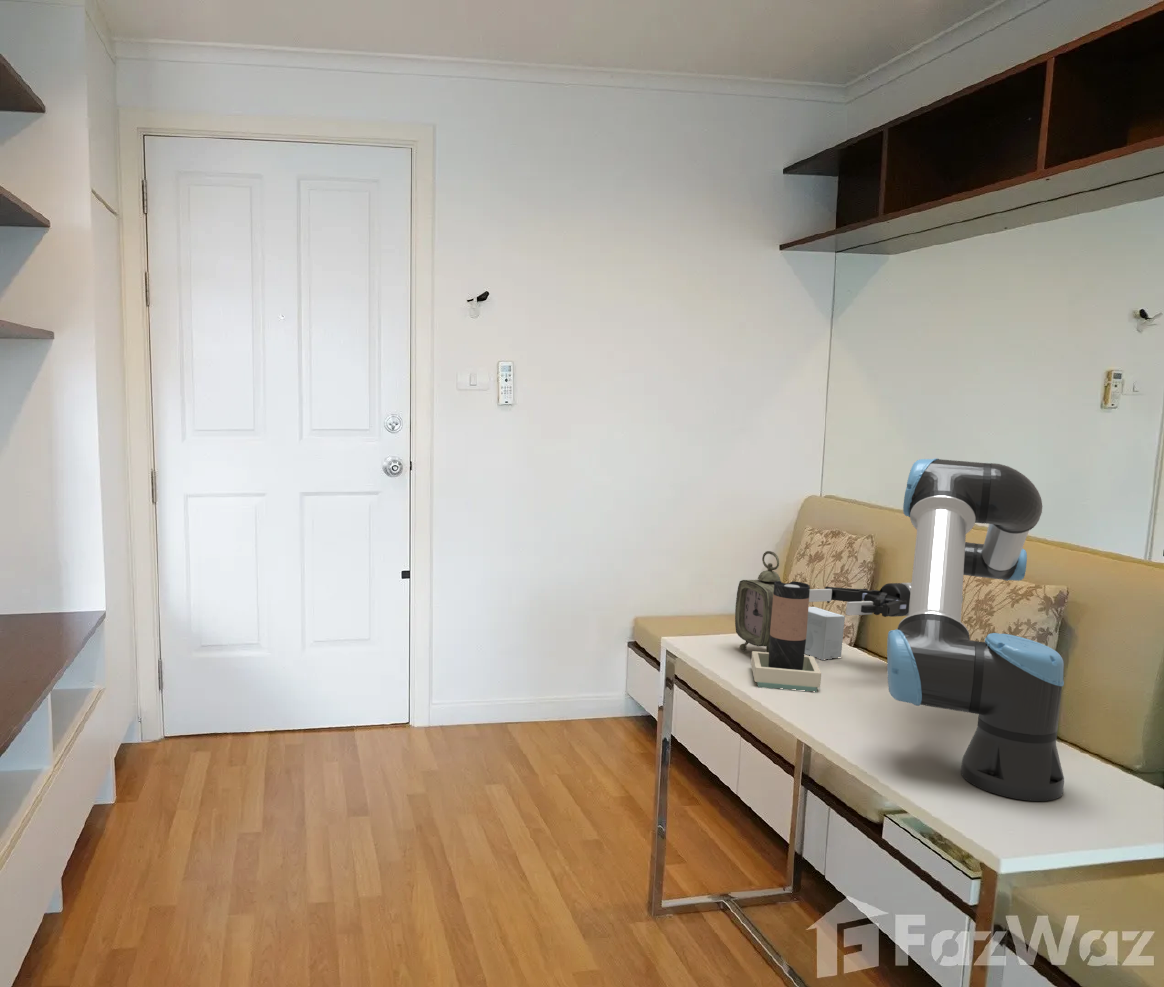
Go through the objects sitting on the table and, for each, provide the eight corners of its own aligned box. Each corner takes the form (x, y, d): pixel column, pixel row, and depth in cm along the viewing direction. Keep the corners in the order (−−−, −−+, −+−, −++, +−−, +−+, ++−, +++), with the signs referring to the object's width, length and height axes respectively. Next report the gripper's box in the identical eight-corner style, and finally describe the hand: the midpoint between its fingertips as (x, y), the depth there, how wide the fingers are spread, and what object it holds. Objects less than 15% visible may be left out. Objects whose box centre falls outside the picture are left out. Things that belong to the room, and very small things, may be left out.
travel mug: (793, 683, 197) (801, 589, 195) (760, 675, 202) (767, 583, 200) (808, 675, 203) (816, 584, 201) (776, 668, 208) (783, 579, 206)
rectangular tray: (819, 692, 195) (821, 674, 195) (754, 686, 197) (755, 668, 196) (809, 668, 213) (811, 651, 212) (749, 663, 214) (751, 646, 214)
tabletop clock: (732, 649, 226) (740, 546, 224) (765, 647, 229) (773, 546, 227) (763, 666, 213) (772, 557, 210) (798, 664, 216) (806, 557, 213)
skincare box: (842, 658, 223) (846, 615, 222) (822, 661, 220) (825, 617, 219) (811, 647, 232) (815, 605, 231) (791, 649, 229) (795, 607, 228)
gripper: (941, 628, 203) (864, 632, 194) (863, 604, 226) (790, 606, 217) (944, 594, 202) (867, 596, 194) (865, 573, 225) (793, 574, 216)
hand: (826, 601), depth 205 cm, fingers open, 13 cm apart
